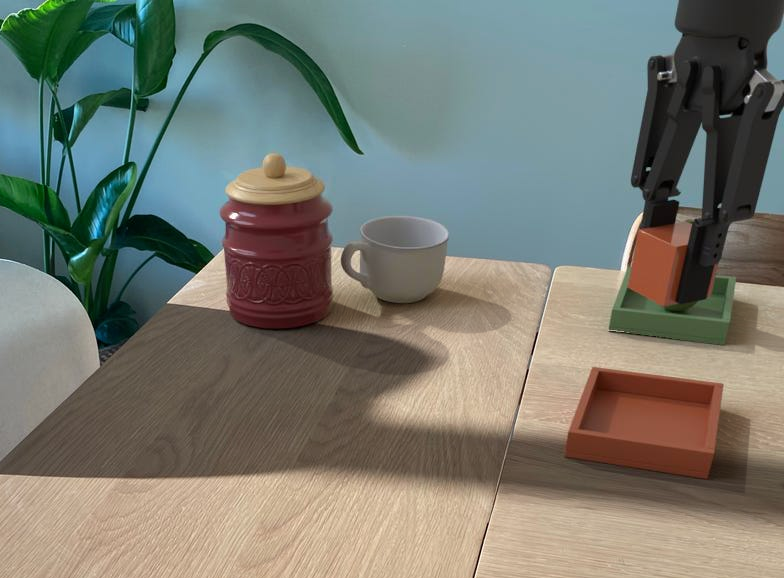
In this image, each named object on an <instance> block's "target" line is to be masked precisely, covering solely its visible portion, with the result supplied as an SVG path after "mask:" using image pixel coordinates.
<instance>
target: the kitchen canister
mask: <svg viewBox="0 0 784 578" xmlns="http://www.w3.org/2000/svg"><path fill="white" fill-rule="evenodd" d="M325 189H326V185H325V182H324V181H323V180H321V179H319V178H318V177H316V176H314V175H313V174H312V172H311V171H309V170H308V169H305V168H302V167H296V166H287V163H286V160H285V158H284V156H282V154H280V153H277V152H271V153H267V155H265V157H264V159H263V162H262V167H256V168H252V169H247V170H245V171H243V172H241V173H239V174H238V175H237V177H235V179H233V180H232V181H231V182H229V183H228V184H227V185H226V187H225V189H224V191H225V194H226V196H227V197H228V201H226V202H225V203H224V204H223V205H222V206H221V207H220V209H219V216H220V218H221V219H222V220H223V221H224V225H225V227H224V229H225V230H224V232H225V233H224V235H223V237H222V240H221V244H222V247H223V253H224V255H223V256H224V265H225V266H224V267H225V278H226V291H225V296H226V304H227V307H228V311H229V314H230V316H231V317H232V318H233V319H234V320H235V321H237V322H239V323H241V324H244V325H246V326H250V327H254V328H260V329H271V330H272V329H273V330H274V329H275V330H276V329H277V330H280V329H293V328H299V327H304V326H308V325H311V324H314V323H316V322H319V321H321V320H322V319H324V318H325V317H327V316H328V315H329V314H330V312H331V310H332V303H333V300H334V287H333V282H332V279H333V277H332V275H333V273H332V272H333V271H332V243H333V241H334V238H333V234H332V232H331V231H330V230H329V217H330V216H331V215H332V213H333V208H334V207H333V205H332V204H331V202H330V201H329V200H328V199H327V198H325V197H324V196H323V195H322V194H323V193H324V192H325Z"/></svg>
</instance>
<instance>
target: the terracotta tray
mask: <svg viewBox="0 0 784 578" xmlns="http://www.w3.org/2000/svg"><path fill="white" fill-rule="evenodd" d="M723 390H724V383H721V382H714V381H707V380H700V379H699V380H698V379H693V378H692V379H691V378H683V377H674V376H667V375H660V374H652V373H643V372H636V371H630V370H629V371H627V370H622V369H621V370H620V369H613V368H605V367H597V366H592V367H591V369H590V372H589V375H588V377H587V380H586V383H585V385H584V388H583V391H582V394H581V395H580V399H579V401H578V404H577V407H576V409H575V412H574V415H573V418H572V420H571V423H570V426H569V428H568V431H567V435H566V436H567V437H566V443H565V447H564V448H565V449H564V455H563V457H565V458H569V459H577V460H583V461H589V462H595V463H602V464H608V465H614V466H620V467H621V466H622V467H627V468H633V469H634V468H635V469H640V470H646V471H653V472H660V473H666V474H673V475H678V476H685V477H690V478H691V477H692V478H697V479H703V480H708V479H709V474H710V472H711V471H710V470H711V467H712V464H713V461H714V456H715V451H716V444H717V437H718V429H719V422H720V414H721V408H722V407H721V406H722V398H723V392H724V391H723Z"/></svg>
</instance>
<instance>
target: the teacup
mask: <svg viewBox="0 0 784 578" xmlns="http://www.w3.org/2000/svg"><path fill="white" fill-rule="evenodd" d="M359 234H360V240H354V241H351V242H349V243H347V244H346V246H345V247H344V248H343V250H342V253H341V255H340V264H341V268H342V270H343V271H344V273H345V274H346V275H347V276H348V277H350V278H351V279H353V280H355V281H357V282H359V283H360V284H361V287H363V288H364V289H367V290H369V291H371V293H372V294H373V295H374V296H375V297H376V298H377V299H379V300H382V301H384V302H388V303H393V304H409V303H416V302H419V301H421V300H423V299H425V298H427V296H428V295H430V294H431V293H433V292H435V290H436V289H437V288H438V287H439V286H440V284H441V282H442V279H443V276H444V272H445V266H446V258H447V249H448V241H449V239H450V232H449V230H448V229H447V228H446V227H445V226H444V225H443V224H442V223H439V222H437V221H435V220H432V219H428V218H425V217H424V218H423V217H418V216H411V215H388V216H380V217H376V218H373V219H370V220H368V221H366V222H365V223H362V225H361V226H360V229H359ZM356 252H359V272H358V271H356V270H355V269H354V267H352V258H353V255H354V254H355V253H356Z"/></svg>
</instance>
